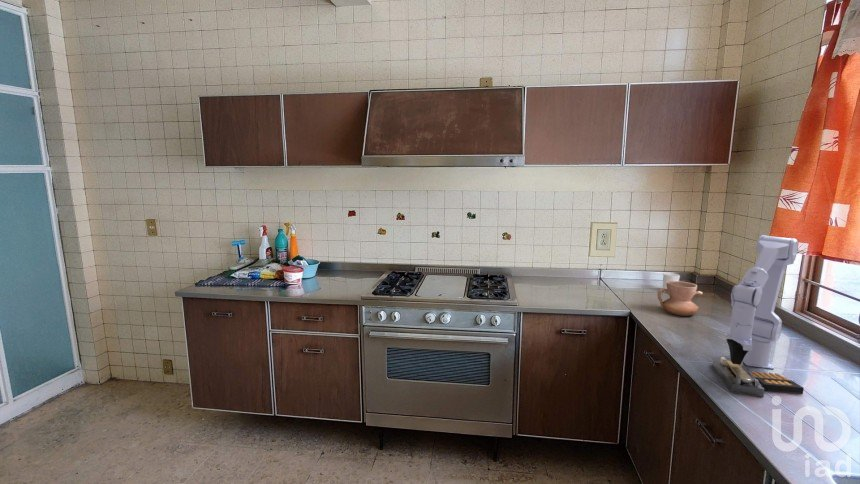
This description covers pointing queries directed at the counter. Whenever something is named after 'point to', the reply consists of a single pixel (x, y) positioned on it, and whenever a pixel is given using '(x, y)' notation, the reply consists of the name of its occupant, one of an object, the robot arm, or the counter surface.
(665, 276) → the white cup
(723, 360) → the lug
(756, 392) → the block
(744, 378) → the tan long flat bar
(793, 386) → the ammunition clip
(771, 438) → the counter surface
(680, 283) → the ceramic jug
